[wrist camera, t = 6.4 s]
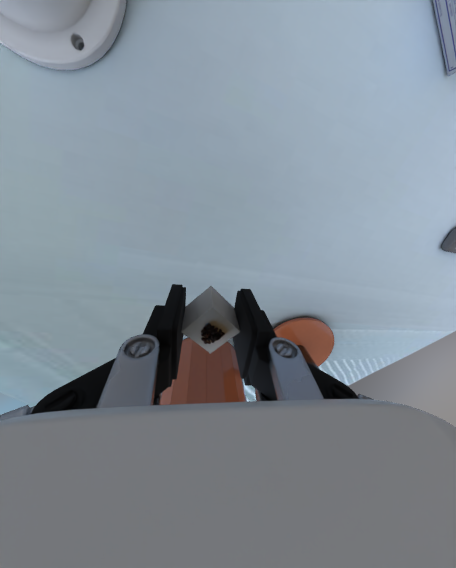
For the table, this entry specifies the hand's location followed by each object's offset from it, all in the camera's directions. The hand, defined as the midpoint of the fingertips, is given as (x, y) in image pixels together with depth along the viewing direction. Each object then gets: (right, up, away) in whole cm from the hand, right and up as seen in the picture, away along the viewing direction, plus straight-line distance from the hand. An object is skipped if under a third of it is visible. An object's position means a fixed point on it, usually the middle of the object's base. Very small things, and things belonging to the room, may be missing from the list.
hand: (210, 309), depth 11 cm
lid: (+12, -9, +19) cm, 25 cm away
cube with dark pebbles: (0, 0, 0) cm, 0 cm away
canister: (-3, -11, +19) cm, 23 cm away
